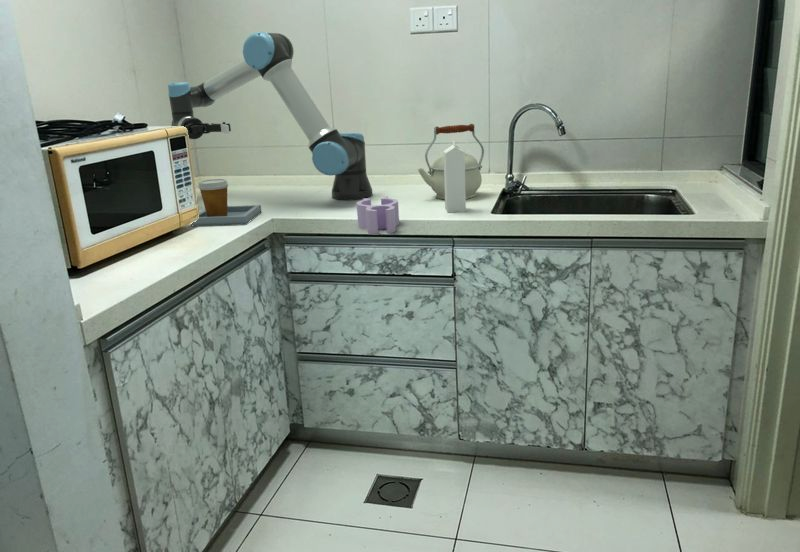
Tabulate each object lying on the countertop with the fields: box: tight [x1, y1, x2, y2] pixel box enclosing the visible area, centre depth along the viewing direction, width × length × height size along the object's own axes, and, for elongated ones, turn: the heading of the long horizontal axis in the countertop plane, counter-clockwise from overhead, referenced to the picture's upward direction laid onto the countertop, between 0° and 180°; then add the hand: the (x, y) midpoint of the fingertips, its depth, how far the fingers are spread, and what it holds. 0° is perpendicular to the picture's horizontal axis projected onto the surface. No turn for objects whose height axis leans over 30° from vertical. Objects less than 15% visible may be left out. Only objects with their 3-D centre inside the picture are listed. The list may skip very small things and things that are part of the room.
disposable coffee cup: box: [198, 178, 229, 217], centre depth 214 cm, size 10×10×12 cm
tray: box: [190, 204, 262, 227], centre depth 216 cm, size 18×18×3 cm
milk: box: [443, 140, 467, 213], centre depth 209 cm, size 6×6×22 cm
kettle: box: [417, 123, 485, 201], centre depth 231 cm, size 25×18×25 cm
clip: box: [356, 196, 400, 235], centre depth 196 cm, size 20×12×7 cm, turn 7°
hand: (207, 131), depth 216 cm, fingers open, 13 cm apart
